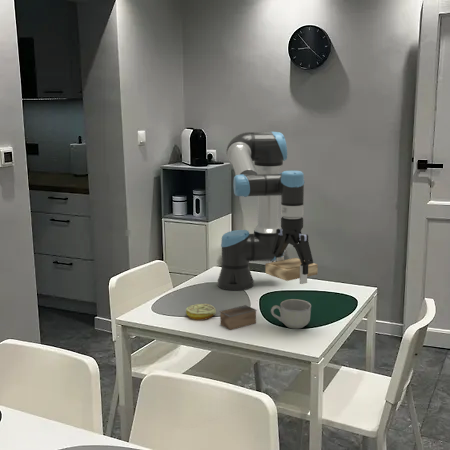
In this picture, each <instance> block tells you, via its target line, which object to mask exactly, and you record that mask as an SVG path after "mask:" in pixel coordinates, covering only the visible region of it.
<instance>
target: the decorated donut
mask: <svg viewBox="0 0 450 450" xmlns="http://www.w3.org/2000/svg"><path fill="white" fill-rule="evenodd" d="M216 311H217V310H216V308H215V307H214V306H213V305H211V304H210V303H209V304H208V303H195V304H191V305H188V306H187V308H186V309H185V314H186V315H187V317H188V318H189V319H191V320H195V321H203V320H204V321H205V320H208V319H211V318H212V317H213V316H215V315H216V313H217V312H216Z"/></svg>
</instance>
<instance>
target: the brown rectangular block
mask: <svg viewBox="0 0 450 450" xmlns="http://www.w3.org/2000/svg"><path fill="white" fill-rule="evenodd" d="M257 310H258V309H256V308H254V307H252V306H249V305H247V304H244V305H241V306H235V307H232V308H228V309H223V310H219V313H220V315H219V316H220V326H223V327H224V328H226V329H228V330H230V331H231V330H235V329H239V328H243V327H246V326H250V325H254V324H256V323H257V317H256V316H257Z"/></svg>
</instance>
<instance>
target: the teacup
mask: <svg viewBox="0 0 450 450" xmlns="http://www.w3.org/2000/svg"><path fill="white" fill-rule="evenodd" d="M276 309H277V310H278V311H279V313H280V316H279V315H277V314H276V313H275V310H276ZM311 311H312V304H311V303H310V302H309V301H306V300H304V299H298V298H297V299H296V298H291V299H290V298H289V299H285V300H283V301H281V302H280V305H277V304H275V305H273V306H272V307H271V308H270V313H271V315H272V316H273V317H274V318H275V319H277V320H278V321H279V322H281V323H283V324H284V325H285V326H286V327H287V328H288V329H293V330H294V329H297V330H299V329H303V328H304V327H305V326H307V325H308V324H309V323H310V320H311V314H312V313H311Z"/></svg>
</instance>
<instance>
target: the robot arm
mask: <svg viewBox="0 0 450 450" xmlns="http://www.w3.org/2000/svg"><path fill="white" fill-rule="evenodd" d="M225 152H226V156H227V159H228V160H229V162H230V163H231V164H232V166H233V171H234V173H235V176H234V177H233V182H232V183H233V194H234V195H235V196H236V197H243V198H246V197H257V226H255V227H254V228H253V233H250V232H249V230H247V229H238V230H237V229H235V230H230V231H227V232H225V233H224V234H222V236H221V244H220V247H221V269H220V272H219V276H218V279H217V287H218V288H220V289H223V290H225V291H243V290H244V291H245V290H248V289H251V288H253V286H254V279H253V276H252V273H251V270H250V262H264V261H266V262H267V261H269V262H271V261H273V262H274V261H275V262H276V261H281V260H285V257H284V254H285V251H286V249H287V248H288V245H289V244H290V245H291V246H292V247H293V248H294V249H295V252H296V254H297V256H298V259H300V261H301V265H300V278H299V285H304V284H307V283H308V277H307V274H308V265H309V264H313V263H314V259H313V255H312V251H311V246H310V243H309V234H303V233H302V230H303V229H304V218H303V217H304V214H305V213H304V212H305V211H304V204H305V203H304V195H305V194H304V193H305V192H304V191H305V174H304V172H303V171H301V170H284V171H282V172H280V168H282V167H283V164H284V163H283V162H285V161H287V160H288V145H287V140H286V137H285V135H284V134H283V133H282V132H279V131H253V132H251V131H246V132H241V133H239V134H238V135H235V137H233V138H232V139H231V140H230V141H229V142H228V144H227V147H226V151H225ZM279 196H280V199H281V200H280V201H281V202H280V203H281V204H280V212H281V213H280V216H281V217H280V226H279ZM304 260H305V262H304Z"/></svg>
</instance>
